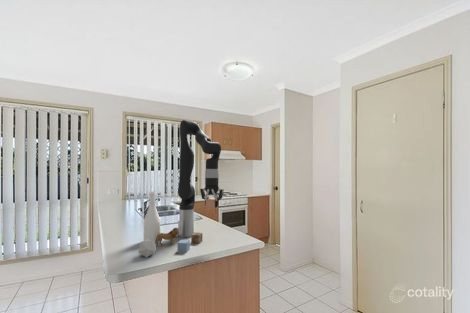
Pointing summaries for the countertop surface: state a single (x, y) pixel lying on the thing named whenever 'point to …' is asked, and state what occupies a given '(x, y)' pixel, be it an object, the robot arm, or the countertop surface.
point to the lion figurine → (167, 236)
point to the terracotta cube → (210, 203)
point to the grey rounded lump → (147, 247)
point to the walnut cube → (196, 238)
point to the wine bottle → (152, 220)
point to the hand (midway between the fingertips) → (211, 206)
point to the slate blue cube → (183, 245)
